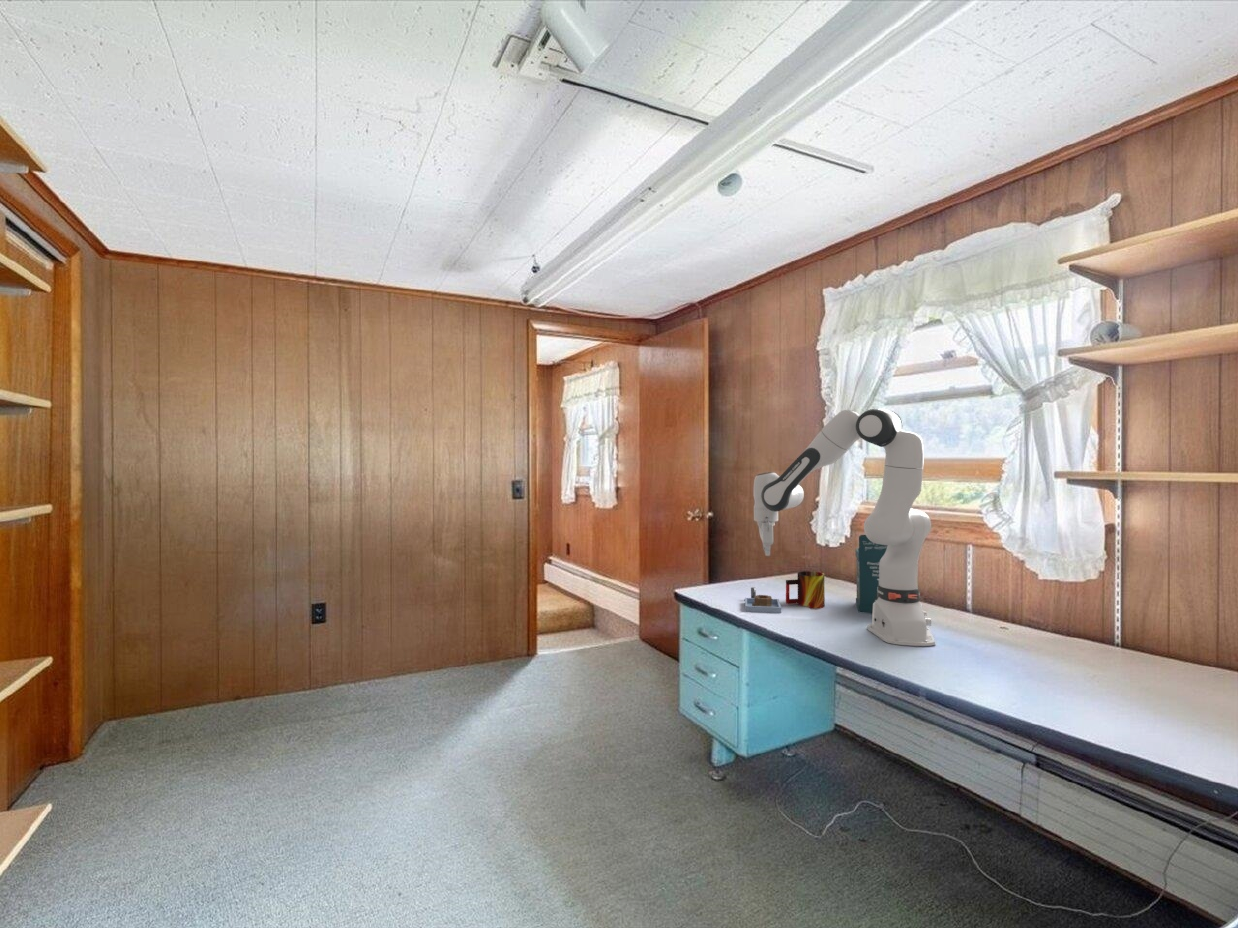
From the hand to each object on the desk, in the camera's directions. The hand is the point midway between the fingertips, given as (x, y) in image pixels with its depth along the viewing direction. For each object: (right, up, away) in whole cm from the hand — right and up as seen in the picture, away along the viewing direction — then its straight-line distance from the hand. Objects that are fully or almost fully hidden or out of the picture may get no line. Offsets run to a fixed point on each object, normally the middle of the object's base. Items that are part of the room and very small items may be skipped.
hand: (766, 553), depth 214 cm
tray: (-2, -20, -1) cm, 21 cm away
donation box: (+42, -20, -1) cm, 46 cm away
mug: (+16, -20, +3) cm, 26 cm away
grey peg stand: (-3, -20, +10) cm, 23 cm away
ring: (-2, -20, -1) cm, 20 cm away
